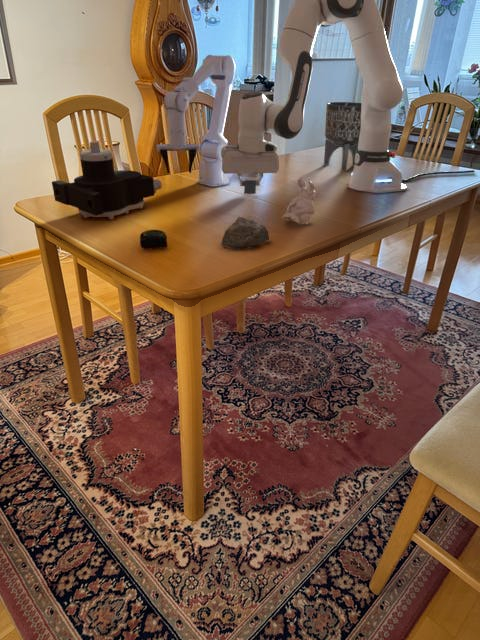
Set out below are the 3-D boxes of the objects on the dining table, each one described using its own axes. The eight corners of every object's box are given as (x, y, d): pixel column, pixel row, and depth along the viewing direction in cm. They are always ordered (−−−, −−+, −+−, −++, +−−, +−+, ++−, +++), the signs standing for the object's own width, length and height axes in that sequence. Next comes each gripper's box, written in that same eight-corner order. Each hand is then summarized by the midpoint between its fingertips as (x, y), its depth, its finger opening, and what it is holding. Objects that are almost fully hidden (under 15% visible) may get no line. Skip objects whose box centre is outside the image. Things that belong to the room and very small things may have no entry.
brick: (244, 193, 162) (244, 180, 160) (243, 190, 166) (243, 177, 164) (255, 193, 162) (256, 180, 160) (254, 190, 166) (254, 177, 164)
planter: (313, 167, 208) (319, 103, 195) (331, 160, 222) (338, 101, 209) (353, 173, 199) (362, 107, 185) (369, 166, 213) (379, 104, 199)
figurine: (321, 218, 142) (325, 177, 135) (298, 231, 131) (302, 187, 125) (298, 213, 146) (301, 173, 139) (274, 225, 135) (277, 182, 128)
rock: (255, 233, 128) (256, 211, 124) (276, 242, 122) (278, 219, 119) (217, 244, 120) (217, 220, 117) (239, 254, 115) (239, 230, 111)
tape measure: (140, 252, 115) (139, 238, 113) (141, 242, 120) (140, 229, 119) (167, 251, 116) (166, 237, 114) (167, 241, 121) (166, 228, 120)
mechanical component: (44, 141, 131) (128, 131, 151) (57, 212, 142) (134, 194, 162) (86, 151, 119) (172, 139, 139) (97, 228, 130) (175, 206, 150)
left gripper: (155, 133, 150) (158, 175, 156) (199, 132, 152) (200, 174, 158) (155, 129, 156) (158, 170, 162) (197, 129, 158) (198, 170, 164)
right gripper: (222, 146, 152) (222, 188, 159) (281, 146, 155) (278, 187, 162) (219, 143, 157) (219, 184, 164) (277, 143, 160) (274, 183, 167)
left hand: (179, 172), depth 161 cm, fingers open, 7 cm apart
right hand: (249, 185), depth 163 cm, fingers closed on brick, 4 cm apart
